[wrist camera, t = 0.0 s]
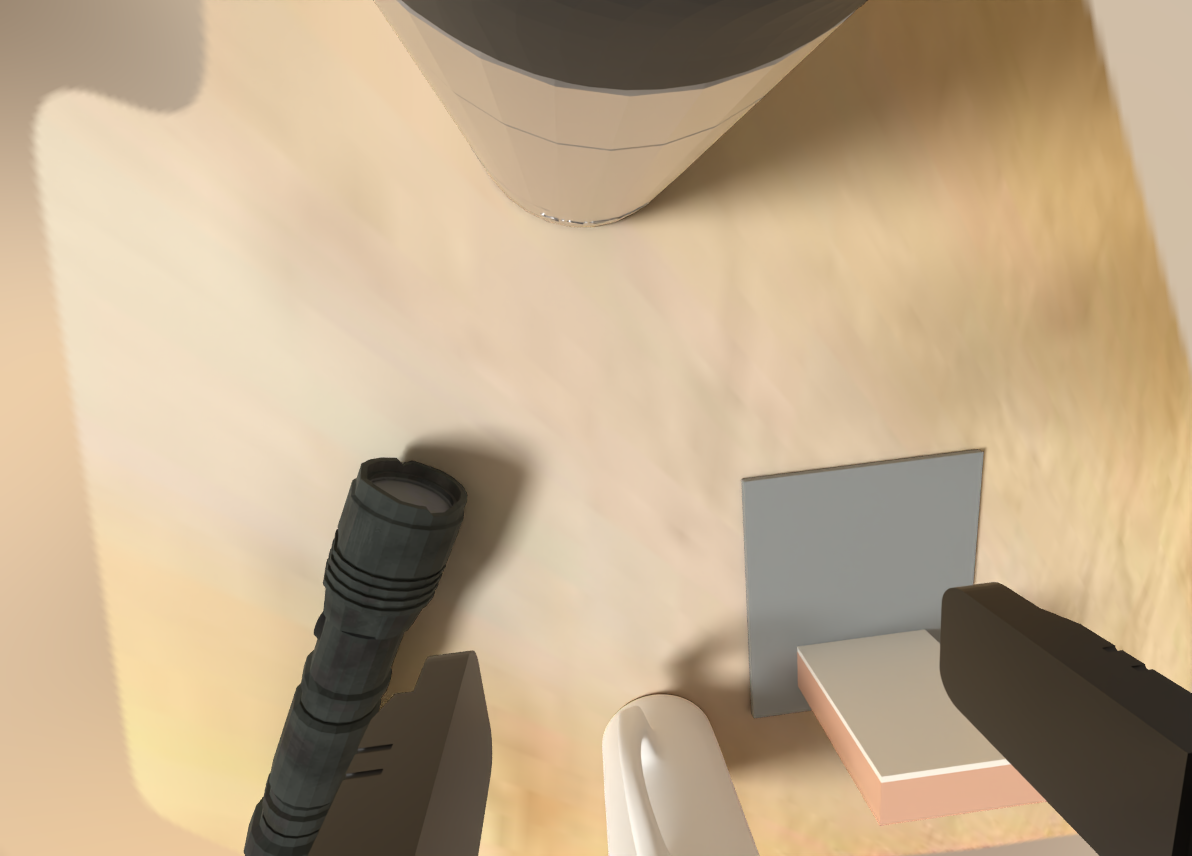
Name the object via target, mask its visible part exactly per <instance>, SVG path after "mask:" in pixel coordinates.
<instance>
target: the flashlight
mask: <svg viewBox="0 0 1192 856" xmlns="http://www.w3.org/2000/svg"><path fill="white" fill-rule="evenodd" d="M466 502H467V493H466V491H465V489H464V488H463V486H462V485H461V484H460V483H459V482H457V481H456V480H455V479H454V478H452V477H451V476H449V475H447V474H446V473H444V472H442V471H440V470H438V469H436V468H433V467H430V466H427V465H424V464H422V463H418V462H415V461H410V462H407V463H404V464H402V463H401V462H400V461H399V460H398V459H397V458H376V459H370V460H368V461H366V462H364V463H362V464H361V467H360V470H359V473H358V476H357V478H356V479H354V480H353V481H352V484H351V487H350V490H349V493H348V496H347V499H346V502H345V506H344V509H343V512H342V515H341V518H340V521H339V524H338V529H337V530H336V533H335V538H334V539H333V543H332V548H331V549H330V553H329V558H328V559H327V562H326V568H325V574H324V580H323V585H324V586H325V588H326V591H325V601H324V611H323V612H322V614H321V615H320V617H319V619H318V620H317V623H316V625H315V629H314V635H315V636H316V637H317V638H318V640H317V643H316V646H315V649H314V650H313V651H312V652H311V653H310V654H309V655H308V656H307V659H306V662H305V665H304V669H303V675H302V681H301V683H300V685H299V686H298V687H297V688H296V691H295V694H294V698H293V701H292V704H291V707H290V710H289V713H288V716H287V719H286V722H285V725H284V728H283V731H282V734H281V737H280V741H279V744H278V747H277V750H276V753H275V756H274V759H273V764H272V769H271V773H270V774H269V777H268V780H267V783H266V788H265V793H264V797H263V798H262V799H261V800H260V802H259V803H258V804H257V805H256V808H255V810H254V813H253V816H252V818H251V821H250V824H249V828H248V833H247V838H246V843H245V848H244V854H245V856H308V854H309V852H310V850H311V848H312V845H313V843H314V841H315V839H316V837H317V835H318V833H319V830H320V828H321V826H322V824H323V822H324V820H325V817H326V815H327V813H328V811H329V809H330V807H331V805H332V802H333V800H334V798H335V796H336V794H337V792H338V789H339V787H340V785H341V783H342V781H343V780H345V779H346V772H347V770H348V768H349V766H350V764H351V762H352V759H353V757H354V755H355V754H357V753H358V746H359V744H360V742H361V740H362V738H363V736H364V734H365V731H366V729H367V727H368V725H369V723H370V721H371V719H372V718H373V717H374V716H375V715H376V714H377V713H378V712H379V709H380V704H381V697H382V696H383V695H384V693H385V692H386V690H387V688H388V685H389V682H390V679H391V674H392V669H391V666H392V663H393V661H394V658H395V655H396V653H397V650H398V647H399V645H400V642H401V639H402V637H403V634H404V632H405V631H407V630H408V629H409V628H410V626H411V625H412V624H413V623H414V621H415V619H416V618H417V616H418V615H419V613H420V611H421V610H422V608H424V607H426V606H427V604H428V603H429V602H430V600H431V599H432V598H433V596H434V593H435V590H436V588H437V586H438V581H439V580H440V578H441V576H442V572H443V570H444V568H445V565H446V563H447V560H448V557H449V555H450V552H451V550H452V547H453V544H454V542H455V539H456V536H457V534H458V531H459V529H460V526H461V523H462V521H463V516H464V507H465V504H466Z"/></svg>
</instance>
